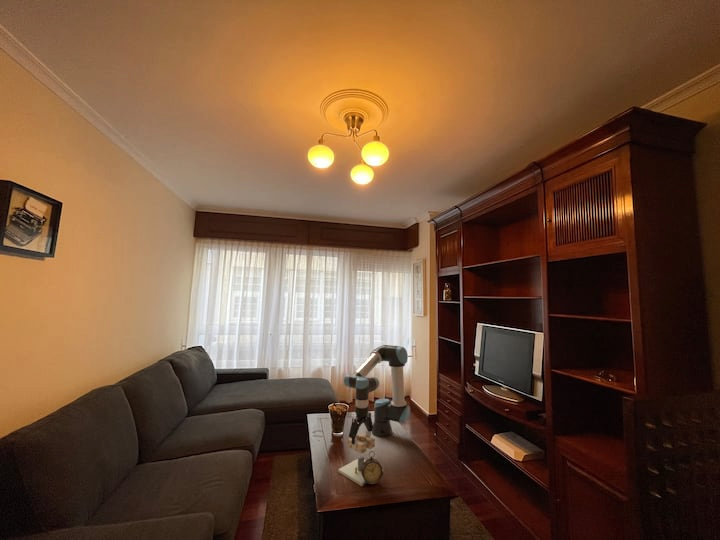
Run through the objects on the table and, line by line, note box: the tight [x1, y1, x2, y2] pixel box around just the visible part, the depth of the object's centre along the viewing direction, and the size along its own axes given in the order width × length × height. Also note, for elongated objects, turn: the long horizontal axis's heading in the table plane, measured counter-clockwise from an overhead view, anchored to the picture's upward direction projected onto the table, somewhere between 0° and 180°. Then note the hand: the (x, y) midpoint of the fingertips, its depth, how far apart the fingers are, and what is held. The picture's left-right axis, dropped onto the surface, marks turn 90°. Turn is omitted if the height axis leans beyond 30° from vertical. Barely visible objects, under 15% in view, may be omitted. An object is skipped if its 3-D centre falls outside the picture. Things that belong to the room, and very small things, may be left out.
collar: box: [347, 433, 376, 454], centre depth 164 cm, size 11×11×4 cm
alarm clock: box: [361, 450, 384, 486], centre depth 153 cm, size 11×5×16 cm, turn 103°
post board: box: [337, 455, 384, 487], centre depth 163 cm, size 18×18×8 cm
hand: (361, 446), depth 164 cm, fingers closed on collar, 11 cm apart
